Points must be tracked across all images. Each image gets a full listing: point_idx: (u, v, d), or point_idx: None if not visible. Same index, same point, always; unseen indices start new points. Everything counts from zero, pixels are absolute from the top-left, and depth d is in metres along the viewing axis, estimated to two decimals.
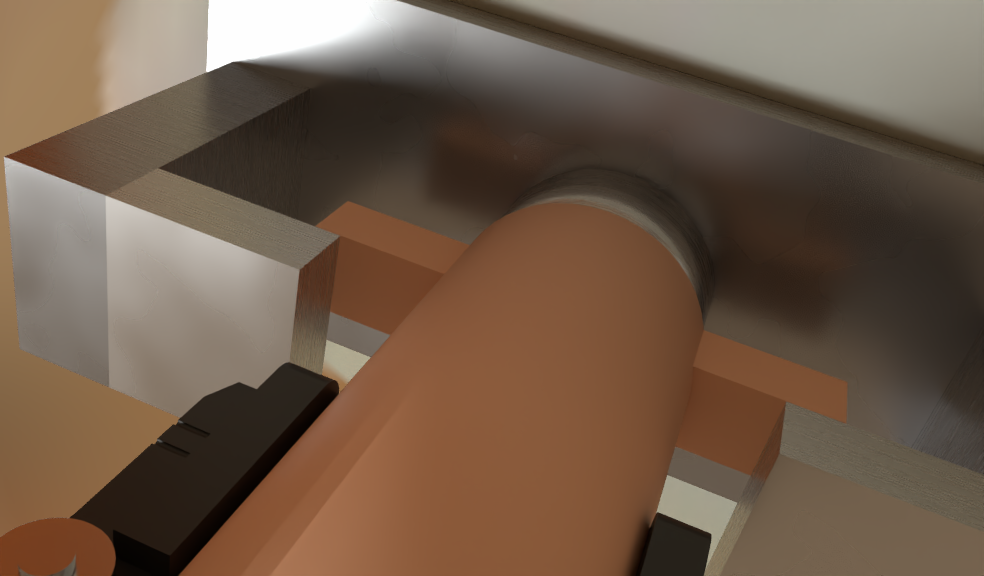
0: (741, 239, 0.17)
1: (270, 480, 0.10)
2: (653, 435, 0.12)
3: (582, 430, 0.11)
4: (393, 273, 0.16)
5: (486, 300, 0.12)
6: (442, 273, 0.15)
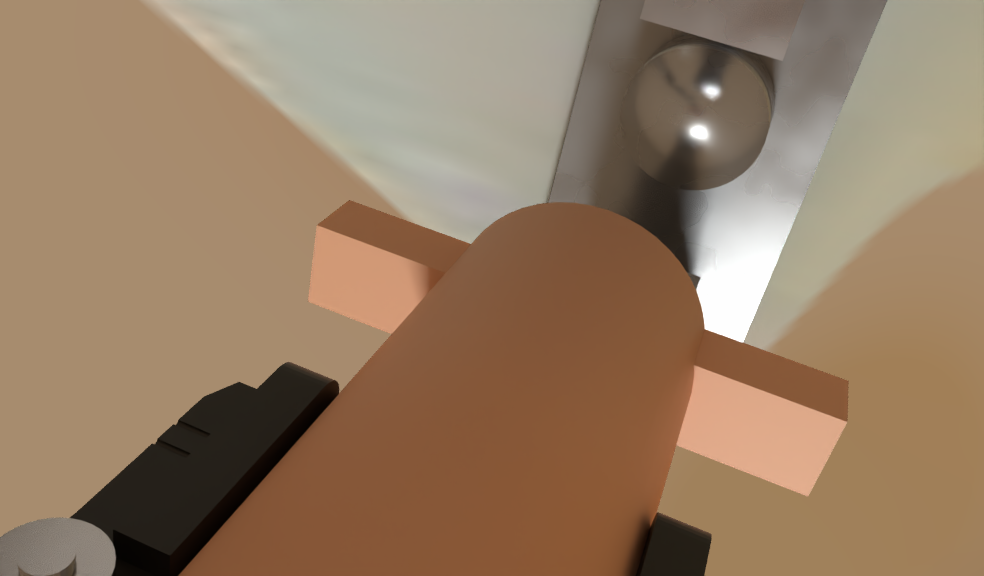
0: None
1: (272, 478, 0.10)
2: (654, 434, 0.12)
3: (582, 428, 0.11)
4: (394, 272, 0.16)
5: (488, 299, 0.12)
6: (443, 272, 0.15)
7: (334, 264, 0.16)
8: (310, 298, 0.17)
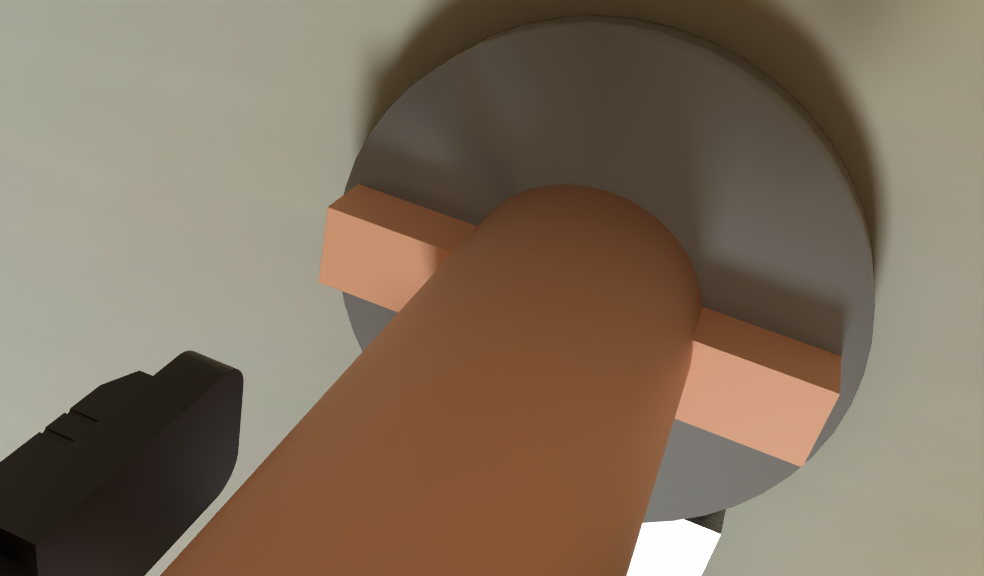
0: None
1: (292, 436, 0.10)
2: (655, 400, 0.13)
3: (586, 392, 0.11)
4: (403, 252, 0.16)
5: (494, 272, 0.13)
6: (450, 252, 0.16)
7: (344, 244, 0.17)
8: (321, 278, 0.17)
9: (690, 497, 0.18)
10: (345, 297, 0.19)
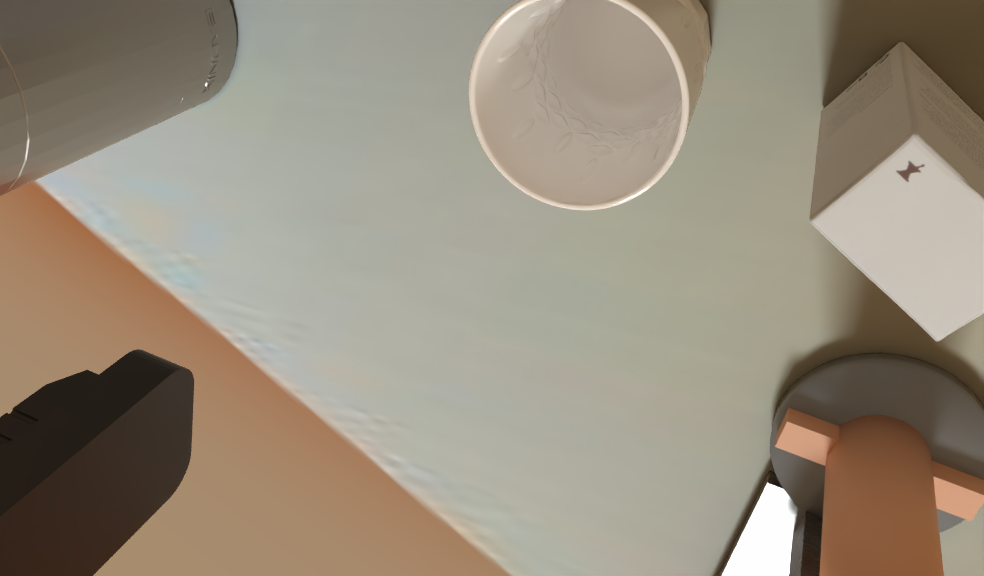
0: None
1: (850, 520, 0.37)
2: (935, 504, 0.40)
3: (925, 505, 0.38)
4: (816, 439, 0.43)
5: (881, 461, 0.40)
6: (837, 440, 0.43)
7: (790, 434, 0.44)
8: (776, 445, 0.44)
9: None
10: (770, 447, 0.46)
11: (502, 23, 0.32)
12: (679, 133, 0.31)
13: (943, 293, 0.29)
